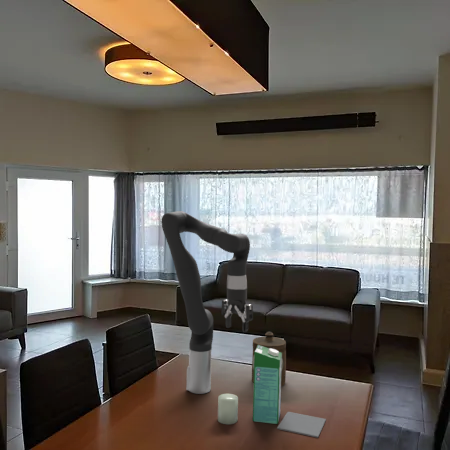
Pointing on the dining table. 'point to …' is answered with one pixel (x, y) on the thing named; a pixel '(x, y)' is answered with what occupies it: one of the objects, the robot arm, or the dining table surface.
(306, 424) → the display mat
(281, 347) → the wooden container
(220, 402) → the pale green rounded cylinder
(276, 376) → the milk carton
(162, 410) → the dining table surface
